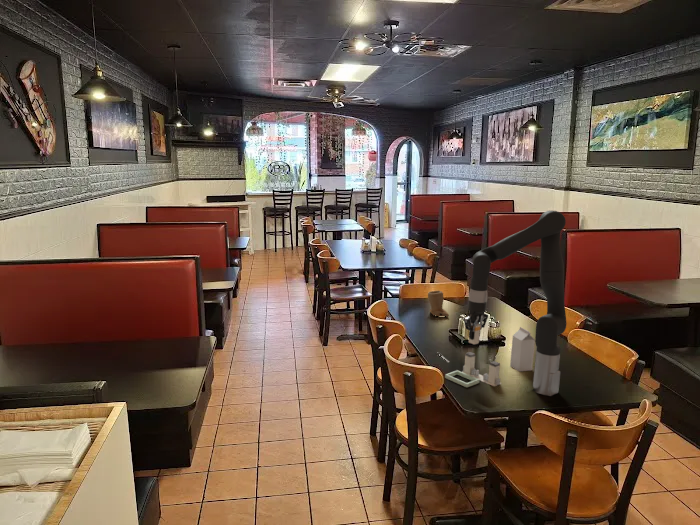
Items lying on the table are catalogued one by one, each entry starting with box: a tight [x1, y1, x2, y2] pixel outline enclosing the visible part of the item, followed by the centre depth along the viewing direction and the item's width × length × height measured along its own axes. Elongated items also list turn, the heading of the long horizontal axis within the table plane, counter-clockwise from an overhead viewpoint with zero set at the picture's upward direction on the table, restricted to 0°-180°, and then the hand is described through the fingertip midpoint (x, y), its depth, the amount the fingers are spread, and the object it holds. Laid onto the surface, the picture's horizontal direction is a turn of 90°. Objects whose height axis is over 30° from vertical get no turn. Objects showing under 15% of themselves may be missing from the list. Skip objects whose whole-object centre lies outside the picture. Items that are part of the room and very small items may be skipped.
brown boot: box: [427, 290, 450, 318], centre depth 318 cm, size 15×12×15 cm
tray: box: [444, 369, 480, 388], centre depth 220 cm, size 12×8×3 cm, turn 38°
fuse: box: [468, 323, 481, 345], centre depth 218 cm, size 3×3×9 cm
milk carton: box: [509, 326, 536, 372], centre depth 236 cm, size 7×7×19 cm
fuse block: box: [462, 351, 503, 387], centre depth 222 cm, size 18×5×10 cm, turn 38°
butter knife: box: [438, 353, 450, 363], centre depth 243 cm, size 1×27×3 cm
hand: (474, 338), depth 218 cm, fingers closed on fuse, 3 cm apart
